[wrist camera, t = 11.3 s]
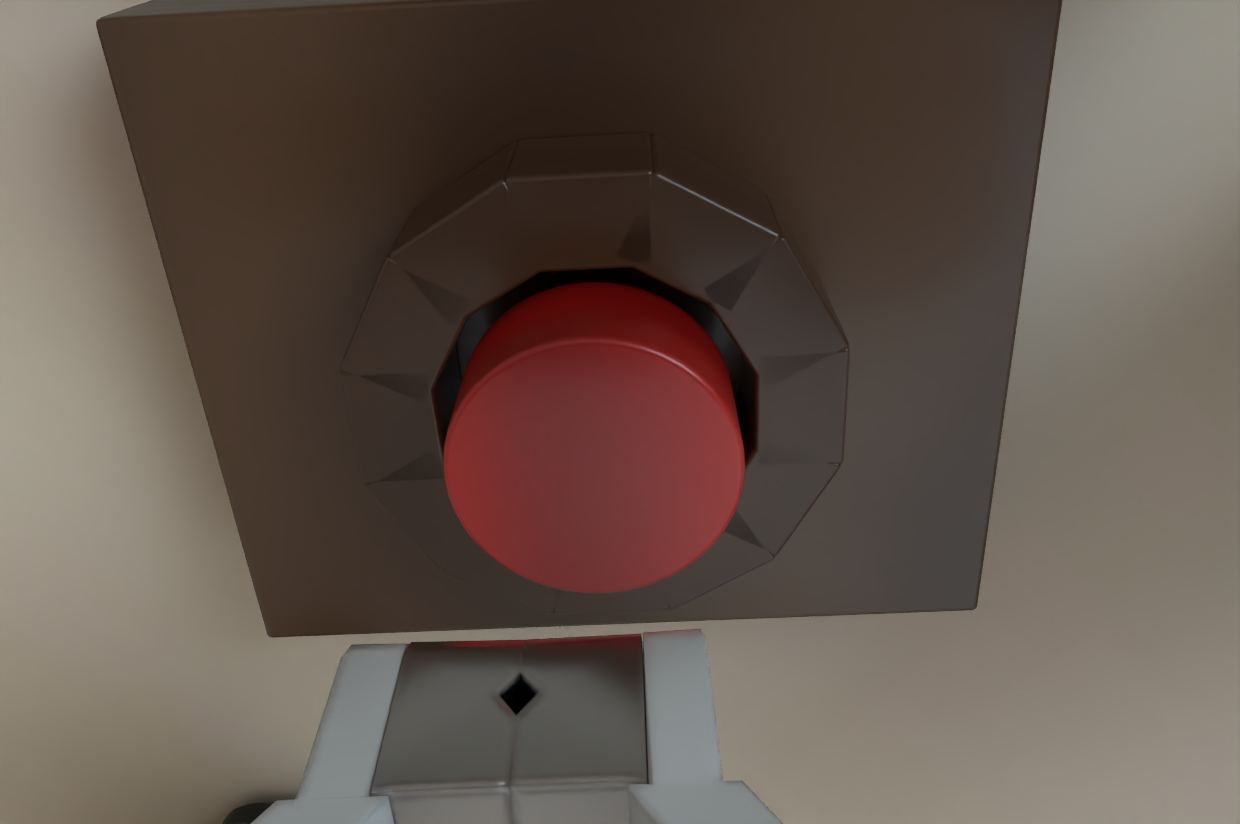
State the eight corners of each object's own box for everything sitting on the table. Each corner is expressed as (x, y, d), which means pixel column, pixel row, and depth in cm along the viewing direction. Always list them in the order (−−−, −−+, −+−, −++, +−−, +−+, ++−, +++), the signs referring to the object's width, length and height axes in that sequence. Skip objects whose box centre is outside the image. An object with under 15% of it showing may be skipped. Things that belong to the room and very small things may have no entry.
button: (732, 273, 13) (746, 330, 11) (733, 511, 15) (745, 590, 13) (444, 286, 13) (420, 346, 12) (478, 523, 15) (462, 601, 13)
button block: (1011, -54, 14) (1135, -20, 11) (943, 534, 19) (1013, 689, 16) (160, -5, 15) (15, 44, 11) (301, 561, 20) (231, 717, 16)
